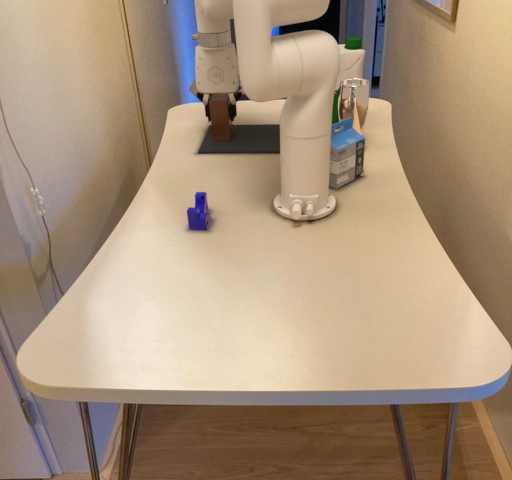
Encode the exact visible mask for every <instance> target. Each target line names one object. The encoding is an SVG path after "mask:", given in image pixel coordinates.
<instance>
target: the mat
mask: <svg viewBox="0 0 512 480" xmlns="http://www.w3.org/2000/svg"><path fill="white" fill-rule="evenodd" d="M202 139H203V140H202V141H201V144H200V146H199V149H198V151H197V154H199V155H200V154H207V155H208V154H212V155H213V154H280V123H279V124H278V123H275V124H274V123H273V124H270V123H269V124H268V123H267V124H233V135H232V137H231V140H230V142H213V138H212V127H211V124H210V125H209V126H208V128H207V130H206V133H205V135H204V137H203V138H202Z"/></svg>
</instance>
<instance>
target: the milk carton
mask: <svg viewBox="0 0 512 480" xmlns="http://www.w3.org/2000/svg"><path fill="white" fill-rule="evenodd" d="M344 40H345V42H344V44H343V43H342V44H338V46H339V50H340V58H341V60H340V69H339V75H338V79H337V83H336V88H335V93H334V99H333V109H332V125H333V124H335V123H338V122H339V116H338V95H339V87H340V81H341V80H343V79H347V78H363V70H364V63H365V56H366V50H365V49H364V48H363V37H361V36H359V35H351V36H346V37H345V39H344ZM337 129H340V126H339V127H338V128H337Z"/></svg>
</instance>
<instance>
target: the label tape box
mask: <svg viewBox="0 0 512 480" xmlns="http://www.w3.org/2000/svg"><path fill="white" fill-rule="evenodd" d="M353 119H354V116H352V117H350V118H347V119H345V120H342V121H340V122H338V123H335V124H333V125H332V127H331V148H330V171H329V188H333V189H335V190H337V189H339V188H342V187H344V186H346V185H347V184H349V183H351V182H353V181H354V180H357V179H359V178H361V177H363V175H364V162H365V145H366V138H365V137H364V136H363V135H362V136H361V135H360V134H359V133H358V132H357V131H356V130H355V129H354V128H353V127H352V125H353ZM339 126H344V128H343V129H340V128H338V127H339ZM336 129H338V130H336ZM335 130H336V131H335Z"/></svg>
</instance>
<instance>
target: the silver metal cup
mask: <svg viewBox="0 0 512 480" xmlns="http://www.w3.org/2000/svg"><path fill="white" fill-rule="evenodd" d="M369 102H370V81H369V79H366V78H363V77H362V78H347V79H343V80H341V81H340V87H339V95H338V116H339V122H340V121H342V120H345V119H347V118H350V117H352V116H354V119H353V125H352V127H353V128H354V129H355V130H356V131H357V132H358V133H359V134H360V135H361V136H362V137H363V130H364V127H365V122H366V119H367V115H368V110H369V104H370V103H369ZM343 128H344V126H340V128H339V130H340V129H343Z"/></svg>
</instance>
